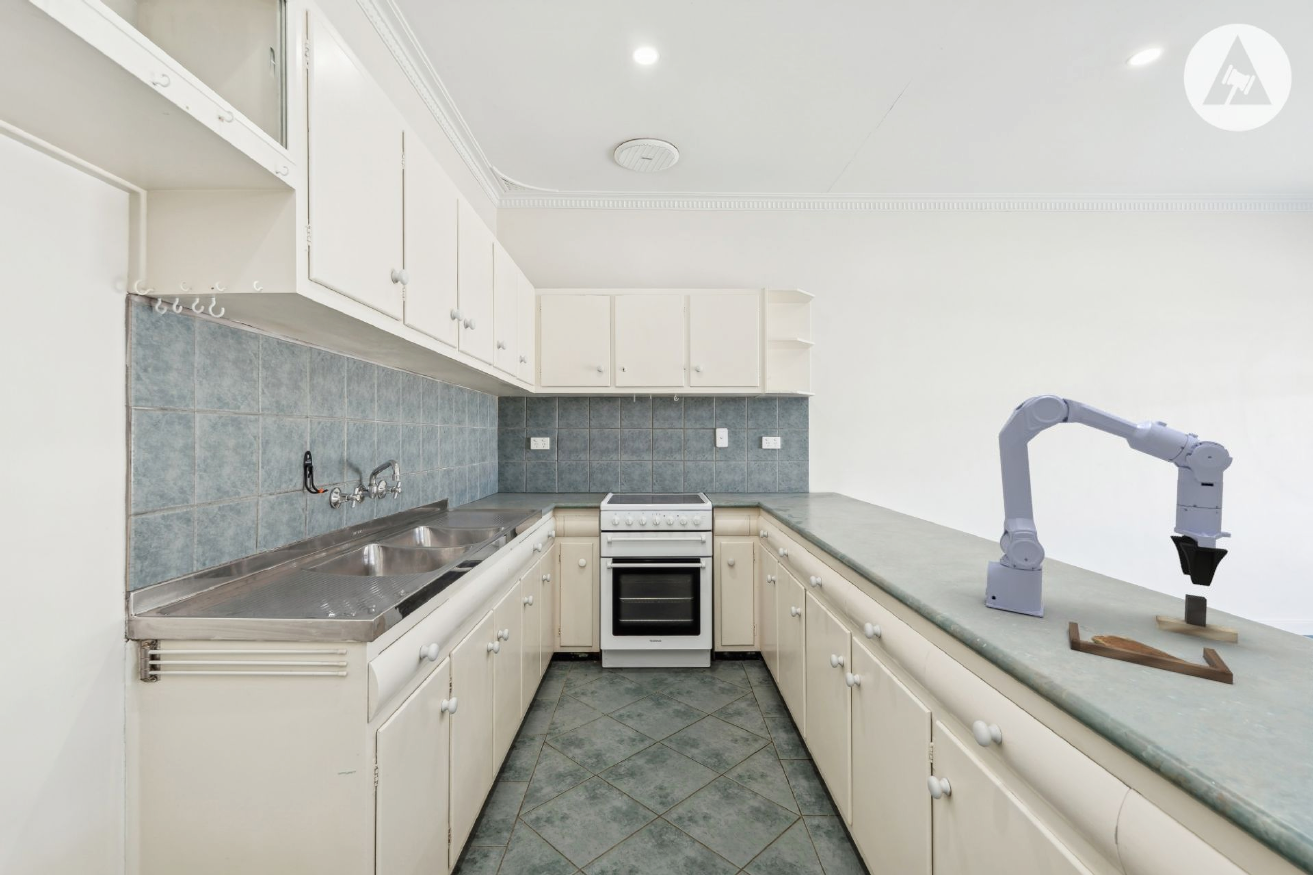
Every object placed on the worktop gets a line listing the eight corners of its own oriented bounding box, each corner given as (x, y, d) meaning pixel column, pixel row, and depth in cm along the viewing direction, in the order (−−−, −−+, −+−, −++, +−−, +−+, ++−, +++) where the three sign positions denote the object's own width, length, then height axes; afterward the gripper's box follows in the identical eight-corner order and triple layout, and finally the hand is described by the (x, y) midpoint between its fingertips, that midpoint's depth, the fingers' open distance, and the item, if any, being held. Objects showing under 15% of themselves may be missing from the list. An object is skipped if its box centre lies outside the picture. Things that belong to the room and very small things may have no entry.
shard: (1196, 674, 78) (1197, 663, 78) (1153, 676, 77) (1153, 665, 77) (1123, 644, 89) (1124, 634, 89) (1085, 646, 88) (1085, 635, 88)
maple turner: (1158, 630, 95) (1159, 593, 95) (1155, 625, 97) (1156, 589, 97) (1237, 644, 89) (1239, 605, 89) (1232, 639, 91) (1234, 600, 91)
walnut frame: (1070, 649, 86) (1071, 640, 86) (1068, 629, 94) (1069, 621, 94) (1232, 684, 74) (1233, 674, 74) (1213, 658, 83) (1214, 649, 83)
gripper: (1243, 513, 85) (1240, 594, 85) (1220, 504, 96) (1217, 575, 96) (1183, 509, 89) (1180, 585, 89) (1167, 500, 100) (1165, 568, 101)
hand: (1195, 579), depth 93 cm, fingers open, 7 cm apart
